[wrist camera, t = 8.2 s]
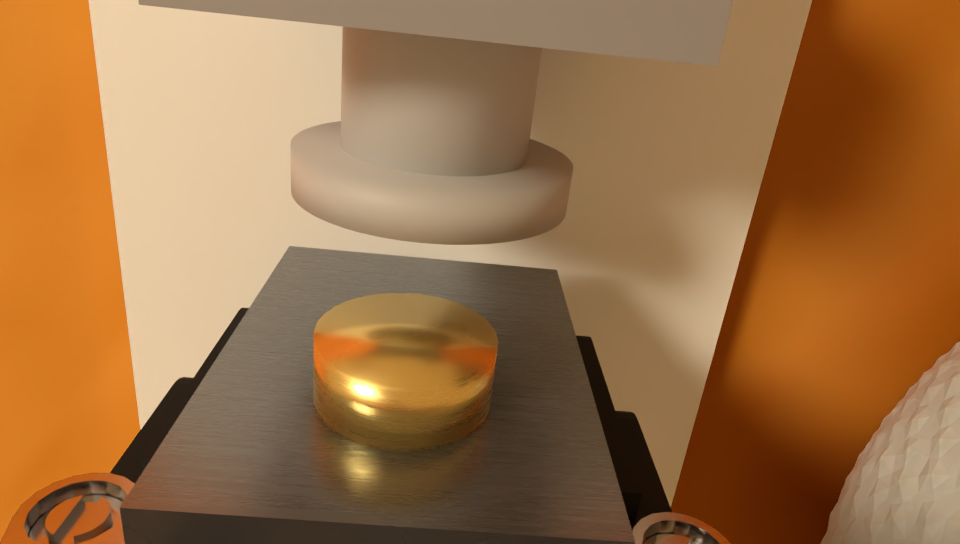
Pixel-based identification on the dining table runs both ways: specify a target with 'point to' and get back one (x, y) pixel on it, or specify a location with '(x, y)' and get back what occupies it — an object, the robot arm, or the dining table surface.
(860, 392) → the dining table surface
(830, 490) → the dining table surface
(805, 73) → the dining table surface
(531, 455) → the joint block
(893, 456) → the cereal bowl
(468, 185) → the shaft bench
